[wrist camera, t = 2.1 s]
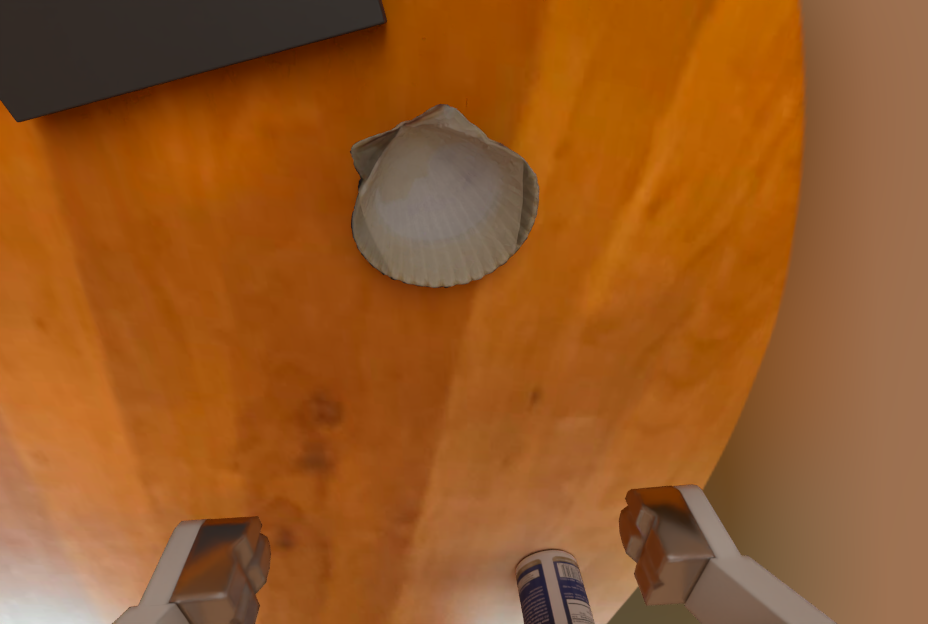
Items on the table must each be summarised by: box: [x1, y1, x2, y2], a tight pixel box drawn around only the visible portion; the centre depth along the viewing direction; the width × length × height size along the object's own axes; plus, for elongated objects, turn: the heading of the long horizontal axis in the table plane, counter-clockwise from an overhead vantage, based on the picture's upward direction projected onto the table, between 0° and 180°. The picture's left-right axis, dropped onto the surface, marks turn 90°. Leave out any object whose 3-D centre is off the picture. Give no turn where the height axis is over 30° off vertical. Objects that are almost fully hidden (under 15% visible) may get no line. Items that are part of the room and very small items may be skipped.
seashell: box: [350, 104, 539, 288], centre depth 20 cm, size 8×3×8 cm
